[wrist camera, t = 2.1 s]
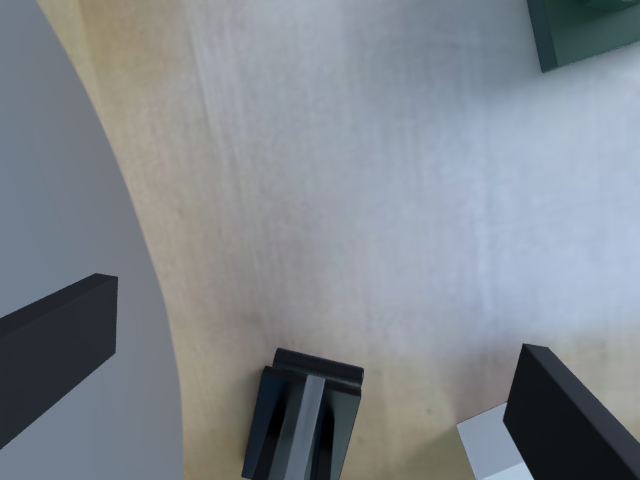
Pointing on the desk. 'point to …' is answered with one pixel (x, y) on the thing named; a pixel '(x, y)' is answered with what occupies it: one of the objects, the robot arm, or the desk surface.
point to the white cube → (492, 447)
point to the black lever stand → (280, 422)
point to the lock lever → (311, 398)
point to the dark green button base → (582, 28)
